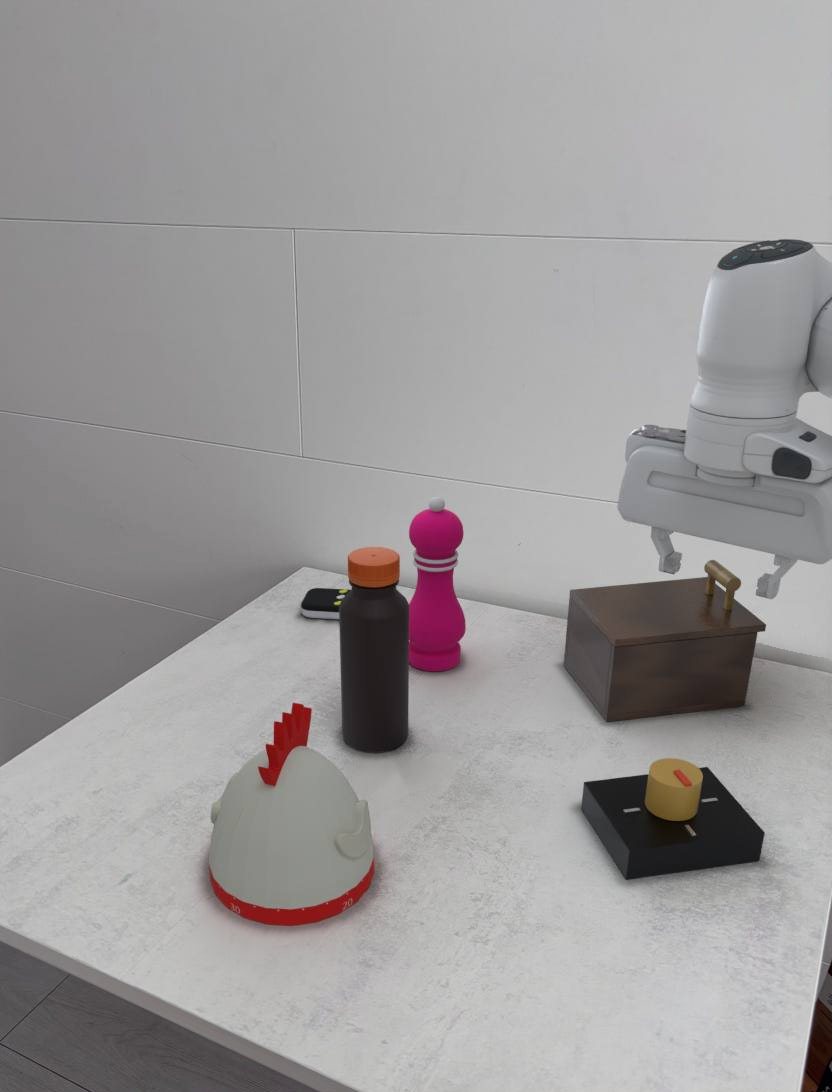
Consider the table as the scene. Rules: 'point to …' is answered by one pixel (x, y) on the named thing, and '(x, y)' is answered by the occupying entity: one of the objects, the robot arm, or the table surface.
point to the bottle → (374, 652)
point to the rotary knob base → (670, 828)
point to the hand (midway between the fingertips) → (716, 583)
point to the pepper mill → (435, 590)
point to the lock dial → (673, 789)
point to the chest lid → (669, 609)
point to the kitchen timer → (290, 833)
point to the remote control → (323, 603)
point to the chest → (657, 671)
